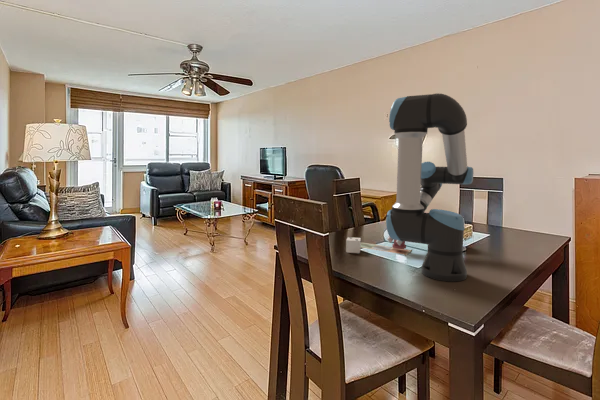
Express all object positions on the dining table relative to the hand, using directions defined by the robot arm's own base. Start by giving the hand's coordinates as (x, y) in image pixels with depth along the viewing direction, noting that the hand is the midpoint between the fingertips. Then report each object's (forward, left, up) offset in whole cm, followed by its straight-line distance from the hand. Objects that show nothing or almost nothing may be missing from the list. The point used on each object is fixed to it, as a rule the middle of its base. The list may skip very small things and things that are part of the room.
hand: (393, 242), depth 147 cm
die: (-9, +15, -5) cm, 18 cm away
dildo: (+3, -2, -3) cm, 5 cm away
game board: (+3, +6, -5) cm, 9 cm away
